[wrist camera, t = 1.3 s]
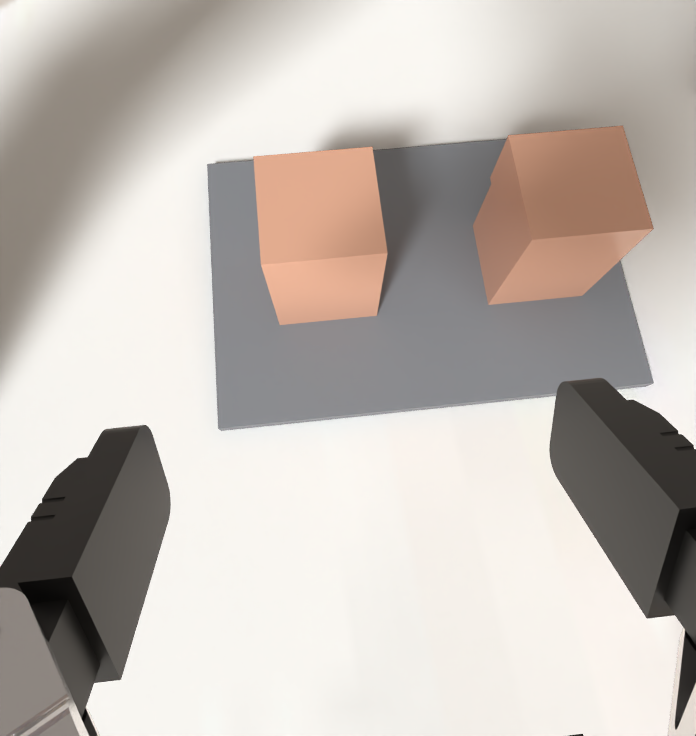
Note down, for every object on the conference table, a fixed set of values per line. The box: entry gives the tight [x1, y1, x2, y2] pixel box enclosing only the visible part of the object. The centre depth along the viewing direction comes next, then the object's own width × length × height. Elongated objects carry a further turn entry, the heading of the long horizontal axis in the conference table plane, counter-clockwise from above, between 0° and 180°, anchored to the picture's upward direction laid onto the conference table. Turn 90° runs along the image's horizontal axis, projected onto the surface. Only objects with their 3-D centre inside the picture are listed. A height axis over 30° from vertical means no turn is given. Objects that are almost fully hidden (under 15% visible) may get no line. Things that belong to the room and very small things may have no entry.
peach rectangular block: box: [473, 126, 654, 305], centre depth 30 cm, size 6×6×8 cm
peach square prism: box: [253, 147, 387, 325], centre depth 30 cm, size 6×6×8 cm
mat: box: [207, 139, 654, 431], centre depth 34 cm, size 26×18×1 cm
